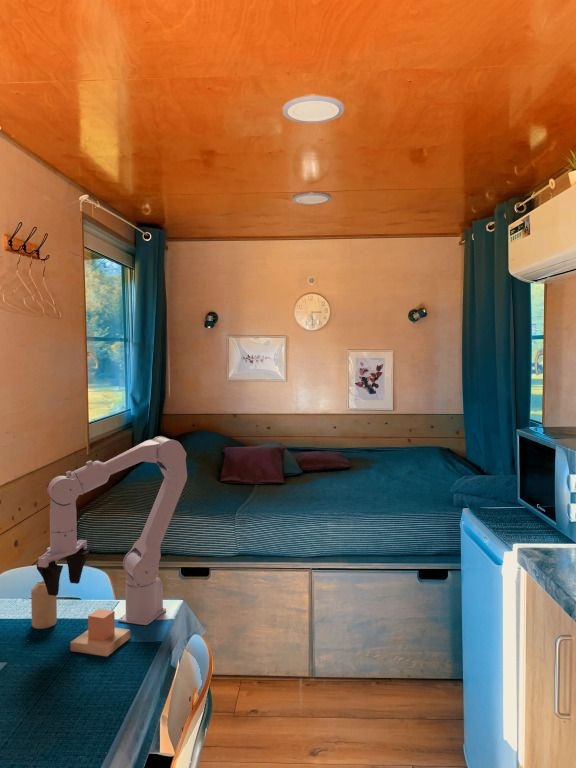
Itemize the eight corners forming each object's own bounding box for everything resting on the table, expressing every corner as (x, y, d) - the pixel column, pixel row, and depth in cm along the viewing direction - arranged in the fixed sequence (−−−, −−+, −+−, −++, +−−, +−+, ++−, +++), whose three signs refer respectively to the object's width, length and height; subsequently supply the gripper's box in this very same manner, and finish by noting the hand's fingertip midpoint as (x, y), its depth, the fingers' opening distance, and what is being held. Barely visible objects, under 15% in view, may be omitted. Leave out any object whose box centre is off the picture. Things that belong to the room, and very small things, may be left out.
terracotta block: (99, 630, 135) (98, 608, 135) (114, 633, 134) (114, 611, 133) (88, 638, 131) (87, 615, 131) (104, 641, 130) (103, 618, 130)
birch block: (95, 635, 138) (95, 624, 138) (130, 640, 135) (130, 629, 135) (70, 653, 129) (70, 641, 129) (107, 659, 127) (107, 647, 127)
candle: (47, 630, 140) (47, 587, 139) (26, 628, 141) (26, 585, 140) (61, 620, 145) (61, 579, 145) (40, 618, 146) (40, 577, 146)
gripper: (69, 520, 145) (69, 576, 145) (26, 536, 131) (27, 598, 131) (94, 522, 143) (94, 579, 143) (53, 539, 129) (54, 602, 129)
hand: (64, 588), depth 137 cm, fingers open, 7 cm apart
